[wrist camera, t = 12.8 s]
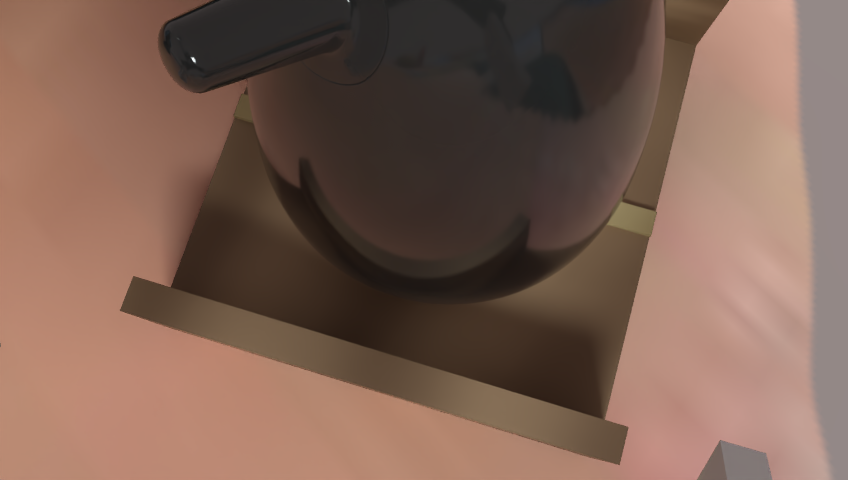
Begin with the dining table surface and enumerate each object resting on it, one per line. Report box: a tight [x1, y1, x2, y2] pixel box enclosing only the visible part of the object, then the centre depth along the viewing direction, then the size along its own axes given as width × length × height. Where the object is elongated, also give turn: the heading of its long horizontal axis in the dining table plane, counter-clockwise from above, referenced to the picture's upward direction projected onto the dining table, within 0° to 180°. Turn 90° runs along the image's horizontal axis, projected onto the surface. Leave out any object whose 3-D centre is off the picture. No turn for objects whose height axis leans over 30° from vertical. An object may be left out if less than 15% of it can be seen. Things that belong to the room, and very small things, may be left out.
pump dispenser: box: [158, 0, 666, 305], centre depth 18 cm, size 10×10×15 cm
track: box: [120, 0, 729, 465], centre depth 24 cm, size 14×15×4 cm
